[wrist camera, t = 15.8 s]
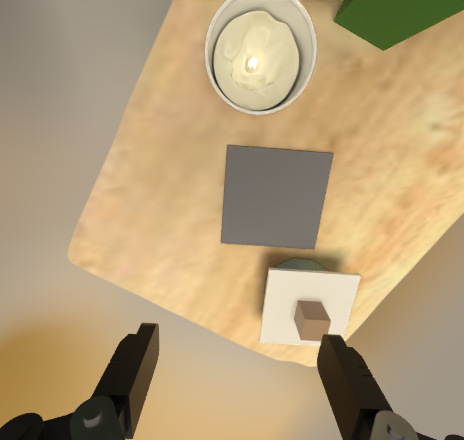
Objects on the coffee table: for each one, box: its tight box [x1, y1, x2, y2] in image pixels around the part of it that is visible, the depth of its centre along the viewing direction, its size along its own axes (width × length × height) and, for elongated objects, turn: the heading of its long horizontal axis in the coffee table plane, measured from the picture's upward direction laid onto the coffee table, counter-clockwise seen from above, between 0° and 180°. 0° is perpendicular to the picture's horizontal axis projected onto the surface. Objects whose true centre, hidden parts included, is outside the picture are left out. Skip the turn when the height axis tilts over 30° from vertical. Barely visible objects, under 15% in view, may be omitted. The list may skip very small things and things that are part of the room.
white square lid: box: [259, 268, 361, 346], centre depth 37 cm, size 13×13×5 cm
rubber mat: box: [221, 145, 333, 249], centre depth 39 cm, size 15×15×1 cm
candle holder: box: [205, 0, 317, 115], centre depth 28 cm, size 10×10×12 cm
